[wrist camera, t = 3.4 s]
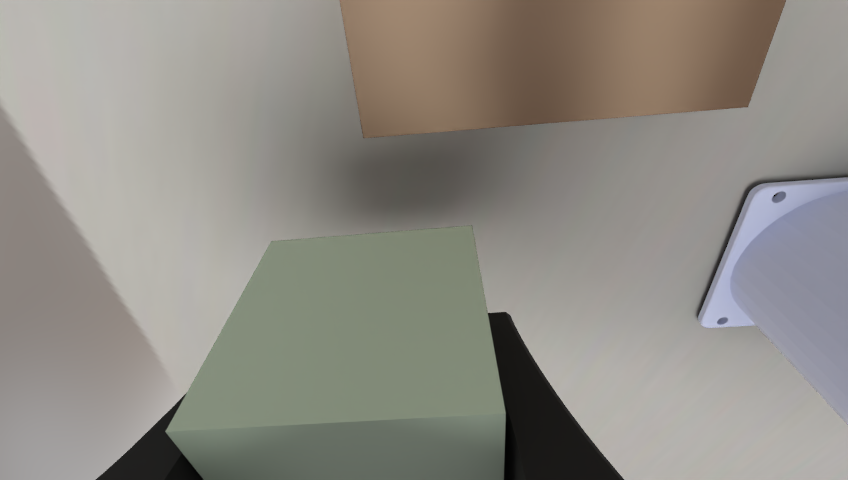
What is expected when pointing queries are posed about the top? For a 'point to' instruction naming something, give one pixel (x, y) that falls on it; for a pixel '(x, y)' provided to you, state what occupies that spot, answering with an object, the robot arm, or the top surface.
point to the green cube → (352, 366)
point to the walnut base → (549, 60)
